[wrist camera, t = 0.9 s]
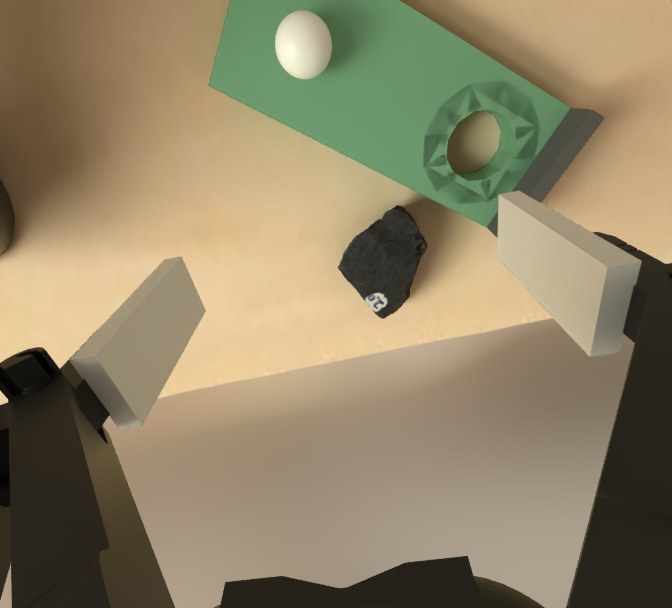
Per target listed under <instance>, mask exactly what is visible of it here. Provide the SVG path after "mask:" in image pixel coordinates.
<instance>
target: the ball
mask: <svg viewBox="0 0 672 608" xmlns="http://www.w3.org/2000/svg"><path fill="white" fill-rule="evenodd" d="M275 49H276V54H277V57H278V60H279V62H280V64H281V65H282V67H283V68H284V69H285V70H286V71H287V72H288V73H289V74H290V75H292V76H293V77H296V78H299V79H311V78H314V77H316V76H318V75H319V74H321V73H322V72H323V71H324V69H325V68H326V67H327V65H328V63H329V61H330V57H331V53H332V40H331V35H330V32H329V30H328V28H327V26H326V24H325V23H324V21H323V20H322V19H321V18H320V17H319V16H317V15H316V14H314V13H312V12H310V11H306V10H299V11H295V12H292V13H290V14H289V15H287V16H286V17H285V18H284V19H283V20H282V22H281V23H280V25H279V27H278V29H277V32H276V37H275Z"/></svg>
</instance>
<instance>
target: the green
mask: <svg viewBox="0 0 672 608" xmlns="http://www.w3.org/2000/svg"><path fill="white" fill-rule="evenodd" d="M299 10H306V11H310V12H312V13H314V14H316V15H317V16H319V17H320V18H321V19H322V20H323V21H324V23H325V24H326V26H327V28H328V30H329V32H330V35H331V40H332V53H331V57H330V61H329V63H328V65H327V67H326V68H325V69H324V71H323V72H322V73H321V74H319V75H318V76H316V77H314V78H311V79H299V78H296V77H293V76H292V75H290V74H289V73H288V72H287V71H286V70H285V69H284V68H283V67H282V65H281V64H280V62H279V60H278V57H277V54H276V49H275V37H276V32H277V29H278V27H279V25H280V23H281V22H282V20H283V19H284V18H285V17H286V16H287V15H289V14H290V13H292V12H295V11H299ZM208 86H210V87H212V88H214V89H216V90H218V91H220V92H222V93H224V94H225V95H227V96H229V97H231V98H233V99H235V100H237V101H239V102H241V103H243V104H245V105H247V106H249V107H251V108H253V109H255V110H257V111H259V112H261V113H263V114H265V115H267V116H269V117H271V118H273V119H275V120H277V121H279V122H281V123H283V124H284V125H286V126H288V127H290V128H292V129H294V130H296V131H298V132H300V133H302V134H304V135H306V136H308V137H310V138H312V139H314V140H316V141H318V142H320V143H322V144H324V145H326V146H328V147H330V148H332V149H334V150H336V151H338V152H340V153H342V154H343V155H345V156H347V157H349V158H351V159H353V160H355V161H357V162H359V163H361V164H363V165H365V166H367V167H369V168H371V169H373V170H375V171H377V172H379V173H381V174H383V175H385V176H387V177H389V178H391V179H393V180H395V181H397V182H399V183H401V184H402V185H404V186H406V187H408V188H410V189H412V190H414V191H416V192H418V193H420V194H422V195H424V196H426V197H428V198H430V199H432V200H434V201H436V202H438V203H440V204H442V205H444V206H446V207H448V208H450V209H452V210H454V211H456V212H458V213H460V214H461V215H463V216H465V217H467V218H469V219H471V220H473V221H475V222H477V223H479V224H481V225H483V226H485V227H487V228H488V229H489V230H490V231H491V232H492V233H493V234H494V235H495V236H496V237H497V238H498V202H499V194H504V193H509V192H514V191H521V192H522V193H524V194H526V195H527V196H529V197H531V198H533V199H534V200H536V201H538V202H540V203H541V202H542V200H543V199H544V198H545V196H546V195H547V194H548V193H549V191H550V190H551V189H552V187H553V186H554V185H555V183H556V182H557V181H558V179H559V178H560V177H561V175H562V174H563V173H564V171H565V170H566V169H567V167H568V166H569V165H570V163H571V162H572V161H573V159H574V158H575V157H576V155H577V154H578V153H579V152H580V150H581V149H582V148H583V146H584V145H585V144H586V142H587V141H588V140H589V138H590V137H591V136H592V134H593V133H594V132H595V130H596V129H597V128H598V126H599V125H600V124H601V122H602V121H603V120H604V117H603V116H601V115H600V114H598V113H597V112H595V111H593V110H587V109H577V108H570V107H568V106H567V105H565V104H564V103H562V102H560V101H559V100H557V99H556V98H554V97H553V96H551V95H549V94H548V93H546V92H545V91H543V90H541V89H540V88H538V87H537V86H535V85H534V84H532V83H530V82H529V81H527V80H526V79H524V78H522V77H521V76H519V75H518V74H516V73H514V72H513V71H511V70H510V69H508V68H507V67H505V66H503V65H502V64H500V63H499V62H497V61H495V60H494V59H492V58H491V57H489V56H488V55H486V54H484V53H483V52H481V51H480V50H478V49H476V48H475V47H473V46H472V45H470V44H469V43H467V42H465V41H464V40H462V39H461V38H459V37H457V36H456V35H454V34H453V33H451V32H449V31H448V30H446V29H445V28H443V27H442V26H440V25H438V24H437V23H435V22H434V21H432V20H430V19H429V18H427V17H426V16H424V15H423V14H421V13H419V12H418V11H416V10H415V9H413V8H411V7H410V6H408V5H407V4H405V3H404V2H402V1H400V0H230V3H229V7H228V11H227V15H226V18H225V22H224V26H223V30H222V34H221V38H220V42H219V46H218V50H217V54H216V57H215V61H214V65H213V69H212V73H211V77H210V81H209V85H208ZM482 110H486V111H488V112H489V113H491V114H493V115H494V116H495V118H496V120H497V122H498V125H499V127H500V129H501V135H500V142H499V149H498V150H497V152H496V153H495V155H494V156H493V158H492V159H491V161H490V162H489V164H487V165H486V166H484V167H482V168H481V169H479V170H478V171H476V172H475V173H464V174H458V173H456V172H454V171H453V170H452V168H451V166H450V164H449V162H448V160H447V147H448V139H449V138H450V136H451V134H452V132H453V131H454V129H455V127H456V125H457V124H458V122H460V121H461V120H463V119H464V118H466V117H467V116H469V115H470V114H471V113H473V112H474V111H482Z"/></svg>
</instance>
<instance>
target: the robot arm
mask: <svg viewBox="0 0 672 608" xmlns="http://www.w3.org/2000/svg"><path fill="white" fill-rule="evenodd" d="M13 228H14V220H13V213H12V208H11V205H10V202H9V199H8V197H7V194H6V192H5V190H4V188H3V186H2V184H1V182H0V254H2V253H3V252H4V251H5V249H6V248H7V247H8V245H9V243H10V241H11V238H12V235H13ZM497 259H498V260H499V261H500V262H501V263H502V264H503V265H504V266H505V267H506V268H507V269H508V271H509V272H510V273H511V274H512V275H513V276H514V277H515V278H516V279H517V280H518V281H519V282H520V283H521V284H522V285H523V286H524V288H525V289H526V290H527V291H528V292H529V293H530V294H531V295H532V296H533V297H534V298H535V299H536V300H537V301H538V302H539V303H540V304H541V306H542V307H543V308H544V309H545V310H546V311H547V312H548V313H549V314H550V315H551V316H552V317H553V318H554V319H555V320H556V321H557V322H558V324H559V325H560V326H561V327H562V328H563V329H564V330H565V331H566V332H567V333H568V334H569V335H570V336H571V337H572V338H573V339H574V340H575V341H576V343H577V344H578V345H579V346H580V347H581V348H582V349H583V350H584V351H585V352H586V353H587V354H588V355H589V356H590V357H593V356H599V355H606V354H612V353H619V352H620V348H621V344H622V340H623V335H624V334H625V335H626V336H627V337H629V338H630V339H631V340H632V341H633V342H634V343H635V345H634V349H633V352H632V356H631V360H630V363H629V367H628V371H627V375H626V379H625V383H624V387H623V391H622V395H621V398H620V402H619V406H618V410H617V414H616V418H615V422H614V425H613V429H612V433H611V437H610V441H609V445H608V449H607V452H606V456H605V460H604V464H603V468H602V472H601V476H600V480H599V483H598V487H597V491H596V495H595V499H594V503H593V507H592V511H591V515H590V519H589V522H588V526H587V530H586V534H585V538H584V541H583V545H582V549H581V553H580V557H579V561H578V565H577V568H576V572H575V576H574V580H573V584H572V588H571V591H570V595H569V599H568V603H567V606H566V608H672V263H671V264H665V263H663V262H661V261H659V260H657V259H655V258H653V257H652V256H650V255H648V254H646V253H644V252H642V251H641V250H637V248H635V247H633V246H631V245H627V243H626V242H624V241H622V240H620V239H618V238H617V237H615V236H611V235H607V234H603V233H599V232H594V233H592V232H590V231H589V230H587V229H585V228H583V227H582V226H580V225H578V224H576V223H575V222H573V221H571V220H569V219H568V218H566V217H564V216H562V215H561V214H559V213H557V212H555V211H554V210H552V209H550V208H548V207H547V206H545V205H543V204H541V203H540V202H538V201H536V200H534V199H533V198H531V197H529V196H527V195H526V194H524V193H522V192H521V191H514V192H509V193H504V194H499V202H498V241H497ZM205 311H206V310H205V308H204V306H203V304H202V301H201V299H200V297H199V295H198V292H197V290H196V288H195V286H194V283H193V281H192V279H191V277H190V274H189V272H188V270H187V268H186V265H185V263H184V261H183V259H182V257H176V258H171V259H166V260H164V261H163V262H162V263H161V264H160V265H159V266H158V267H157V268H156V269H155V270H154V271H153V272H152V273H151V275H150V276H149V277H148V278H147V279H146V280H145V281H144V282H143V283H142V284H141V285H140V286H139V287H138V288H137V289H136V290H135V291H134V292H133V293H132V295H131V296H130V297H129V298H128V299H127V300H126V301H125V302H124V303H123V304H122V305H121V306H120V307H119V308H118V309H117V310H116V311H115V312H114V313H113V314H112V316H111V317H110V318H109V319H108V320H107V321H106V322H105V323H104V324H103V325H102V326H101V327H100V328H99V329H98V330H97V331H96V332H95V333H94V334H93V335H92V336H91V337H90V338H89V339H88V340H87V342H85V343H84V344H83V345H82V346H81V347H80V349H79V350H78V351H77V352H76V353H75V354H74V355H73V356H72V357H71V358H70V359H69V360H68V361H67V362H66V363H65V364H64V365H63V366H62V367H61V368H60V369H59V367H58V366H57V365H56V363H55V362H54V361H53V360H52V358H51V357H50V356H49V354H48V353H47V352H46V350H45V349H44V348H40V347H36V348H32V349H27V350H25V351H22V352H20V353H17V354H15V355H13V356H11V357H9V358H7V359H6V360H4V361H3V362H1V363H0V391H1V392H2V393H3V394H4V395H5V396H6V397H7V399H8V403H5V404H3V405H0V599H1V596H2V592H3V588H4V584H5V581H6V577H7V574H8V571H9V567H10V564H11V583H12V608H175V606H174V604H173V601H172V599H171V596H170V593H169V591H168V588H167V585H166V583H165V580H164V578H163V576H162V572H161V570H160V567H159V564H158V562H157V559H156V557H155V554H154V551H153V549H152V546H151V543H150V541H149V538H148V536H147V533H146V530H145V528H144V525H143V522H142V520H141V517H140V515H139V512H138V510H137V507H136V504H135V502H134V499H133V496H132V494H131V491H130V488H129V486H128V483H127V480H126V478H125V476H124V473H123V470H122V467H121V465H120V462H119V460H118V457H117V454H116V452H115V449H114V446H113V444H112V441H111V439H110V436H109V434H108V432H107V431H106V430H105V428H104V427H103V426H102V425H103V423H104V422H105V420H106V419H107V418H108V416H110V417H111V418H112V420H113V421H114V422H115V424H116V425H117V427H118V428H119V429H120V428H126V427H133V426H140V425H143V423H144V421H145V419H146V417H147V416H148V414H149V412H150V410H151V408H152V406H153V405H154V403H155V401H156V399H157V398H158V396H159V394H160V392H161V390H162V389H163V387H164V385H165V383H166V381H167V380H168V378H169V376H170V374H171V372H172V371H173V369H174V367H175V365H176V363H177V362H178V360H179V358H180V356H181V354H182V353H183V351H184V349H185V347H186V345H187V344H188V342H189V340H190V338H191V336H192V335H193V333H194V331H195V329H196V327H197V326H198V324H199V322H200V320H201V318H202V317H203V315H204V313H205ZM214 608H544V607H543V606H542V605H540V604H539V603H537V602H536V601H534V600H532V599H531V598H529V597H528V596H526V595H524V594H522V593H521V592H519V591H517V590H515V589H513V588H510V587H508V586H506V585H504V584H501V583H499V582H495V581H492V580H490V579H487V578H482V577H477V576H473V573H472V570H471V567H470V563H469V559H468V556H463V557H454V558H444V559H435V560H427V561H417V562H408V563H404V564H401V565H399V566H397V567H394V568H392V569H390V570H387V571H385V572H383V573H380V574H378V575H376V576H373V577H371V578H368V579H367V580H364V581H361V582H359V583H357V584H355V585H352V586H350V587H347V588H335V587H330V586H325V585H321V584H316V583H312V582H307V581H303V580H298V579H293V578H289V577H284V576H279V577H269V578H260V579H250V580H241V581H232V582H225V587H224V591H223V596H222V601H221V604H220V605H218V606H216V607H214Z"/></svg>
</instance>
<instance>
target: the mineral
mask: <svg viewBox="0 0 672 608" xmlns="http://www.w3.org/2000/svg"><path fill="white" fill-rule="evenodd" d="M426 249H427V243H426V241H425V239H424V237H423V236H422V235H421V233H420V231H419V228H418V226H417V225H416V223H415V221H414V219H413V218H412V216H411V215H410V214H409V213H408V212H407V211H406V210H405V208H404V207H402V206H399V205H397V206H395V207H394V208H393V209H391V210H389V211H387V212H386V213H385V214H384V216H383V218H382V220H381V219H379V220H377V221H376V222H375V223H373V224H372V225H371V226H370V227H369V228H368V229H366V230H365V231H364V232H362V233H360V234H359V235H357V236H356V237H355V238H354V239H353V240H352V242H351V243H350V244H349V246H348V248H347V249H346V251H345V252H344V254H343V259H342V260H341V262H340V265H339V266H338V269H339V270H340V271H341V272H342V274H343V275H344V277H345V278H346V279H347V281H348V282H350V283H351V284H352V285H353V287H354V288H355V289H356V290H357V291H358V292H359V294H360V295H361V297H362V298H363V299H364V300H365V302H366V303H367V304H368V306H369V307H370V308H371V309H372V310H373V311H374V312H375V314H377V315H378V316H379V317H381V318H383V319H384V318H386V317H387V316H389V315H390V314H393V313H394V312H396V311H397V310H398V309H399V308H400V307H401V306H402V305H403V303H404V302H405V301H406V300H407V299H408V298H409V296H410V287H411V285H412V282H413V277H414V276H415V274H416V271H417V267H418V265H419V262H420V259H421V257H422V255H423V254H424V253H425V251H426Z"/></svg>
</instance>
